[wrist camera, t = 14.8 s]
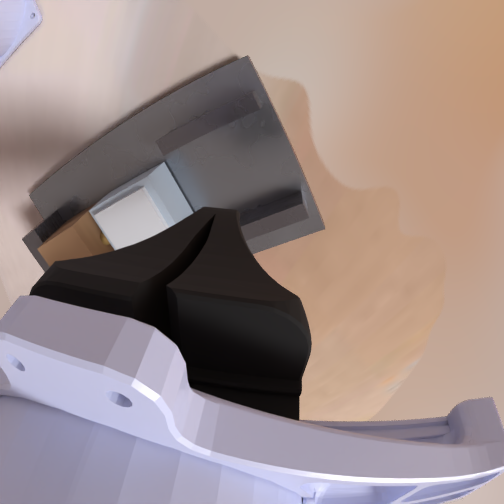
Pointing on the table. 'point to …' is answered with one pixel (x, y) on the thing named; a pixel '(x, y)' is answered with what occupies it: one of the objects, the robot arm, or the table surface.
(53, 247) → the block
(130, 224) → the ram
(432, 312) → the table surface
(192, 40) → the table surface
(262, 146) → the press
